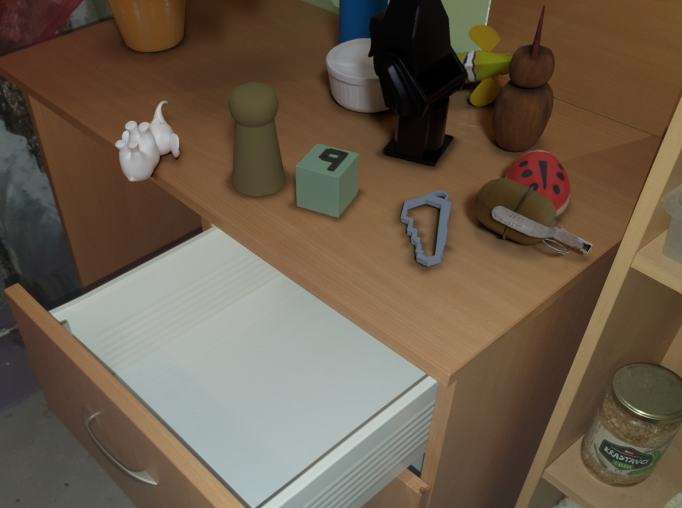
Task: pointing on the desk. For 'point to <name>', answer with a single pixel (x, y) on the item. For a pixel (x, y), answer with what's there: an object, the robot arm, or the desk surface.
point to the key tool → (442, 228)
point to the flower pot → (150, 23)
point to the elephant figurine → (146, 146)
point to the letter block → (327, 180)
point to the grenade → (522, 215)
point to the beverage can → (357, 17)
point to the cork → (256, 140)
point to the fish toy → (484, 64)
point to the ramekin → (354, 77)
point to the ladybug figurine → (542, 177)
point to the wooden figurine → (525, 97)
